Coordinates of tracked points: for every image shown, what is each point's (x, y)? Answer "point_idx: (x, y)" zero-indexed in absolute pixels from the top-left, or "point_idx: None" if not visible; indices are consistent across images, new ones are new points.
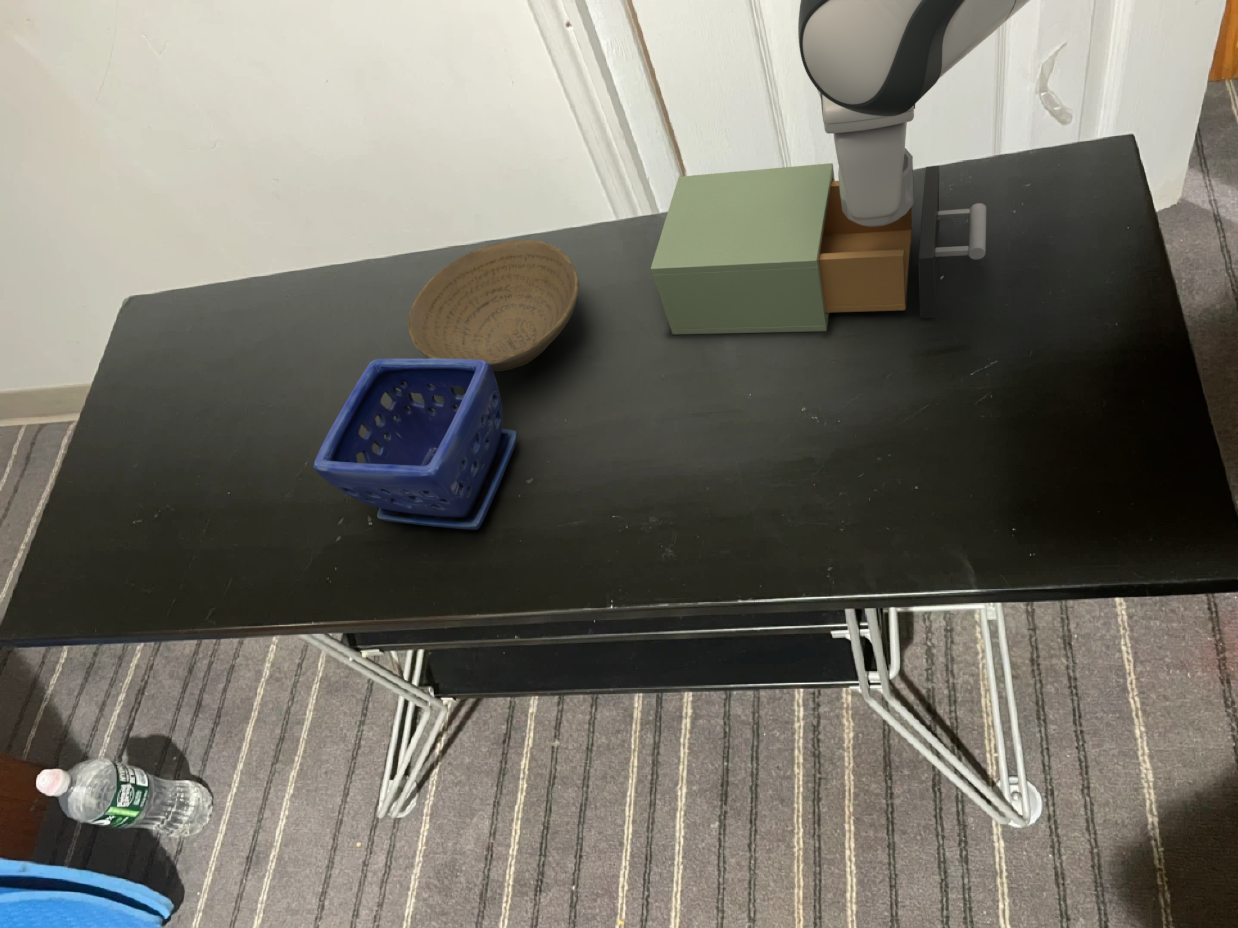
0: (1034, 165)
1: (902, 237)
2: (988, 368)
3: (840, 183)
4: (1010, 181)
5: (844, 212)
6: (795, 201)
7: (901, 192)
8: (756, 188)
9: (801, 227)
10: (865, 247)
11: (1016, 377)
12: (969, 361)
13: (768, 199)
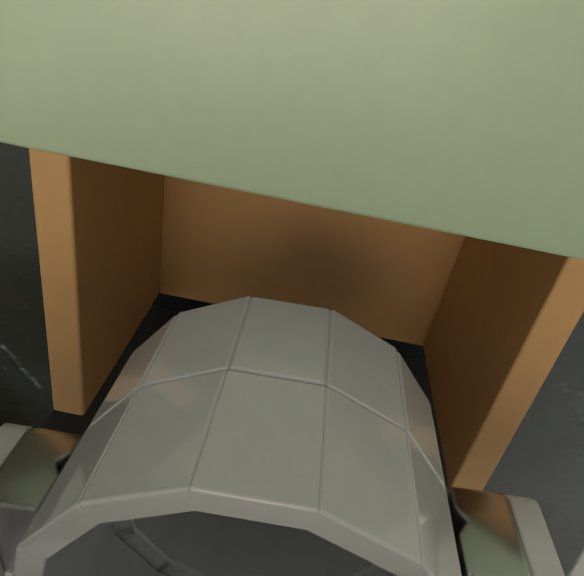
0: (567, 542)
1: (400, 322)
2: (20, 372)
3: (175, 443)
4: (542, 505)
5: (211, 311)
6: (467, 28)
7: None
8: None
9: (190, 55)
10: (393, 226)
11: (4, 403)
12: (35, 349)
13: None
